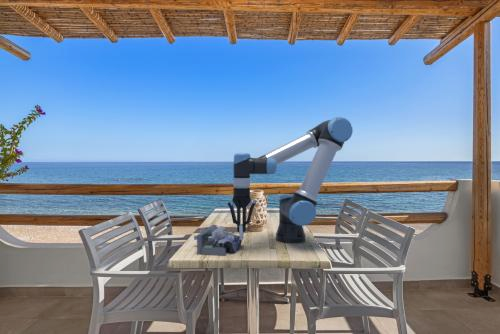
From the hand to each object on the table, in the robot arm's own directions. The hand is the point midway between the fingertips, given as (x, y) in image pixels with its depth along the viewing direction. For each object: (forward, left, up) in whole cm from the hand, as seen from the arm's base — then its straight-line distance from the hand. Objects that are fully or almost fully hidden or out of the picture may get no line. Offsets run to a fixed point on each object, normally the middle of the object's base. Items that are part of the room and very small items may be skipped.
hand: (241, 239), depth 133 cm
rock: (+5, +1, -5) cm, 7 cm away
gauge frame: (+10, 0, -5) cm, 11 cm away
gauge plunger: (+16, 0, -4) cm, 17 cm away
